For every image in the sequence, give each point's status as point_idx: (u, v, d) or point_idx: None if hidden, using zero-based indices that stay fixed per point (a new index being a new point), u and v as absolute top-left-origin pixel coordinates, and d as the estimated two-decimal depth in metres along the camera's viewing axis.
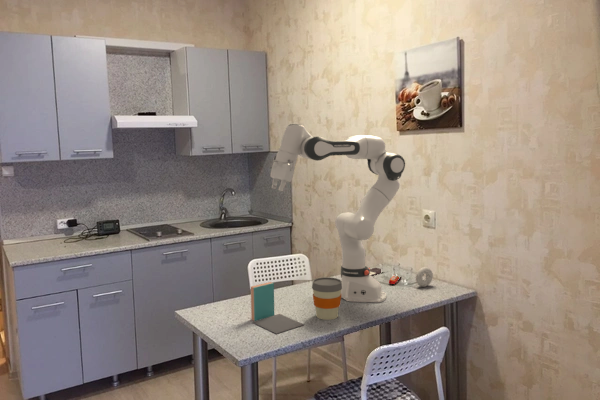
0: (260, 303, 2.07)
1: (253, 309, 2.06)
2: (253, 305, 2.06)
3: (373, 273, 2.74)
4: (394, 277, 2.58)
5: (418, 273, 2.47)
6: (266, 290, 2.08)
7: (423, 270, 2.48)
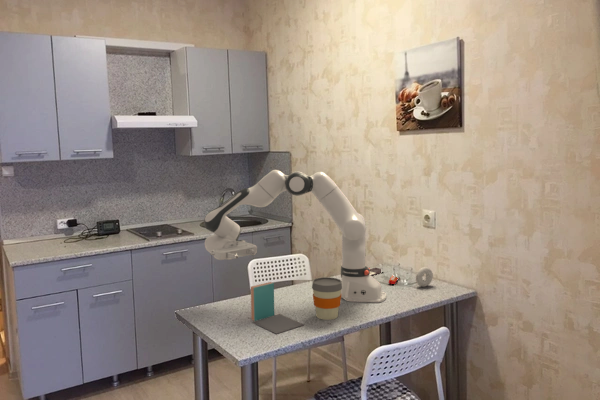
0: (260, 303, 2.07)
1: (253, 309, 2.06)
2: (253, 305, 2.06)
3: (373, 273, 2.74)
4: (393, 277, 2.58)
5: (418, 273, 2.47)
6: (266, 290, 2.08)
7: (423, 270, 2.48)
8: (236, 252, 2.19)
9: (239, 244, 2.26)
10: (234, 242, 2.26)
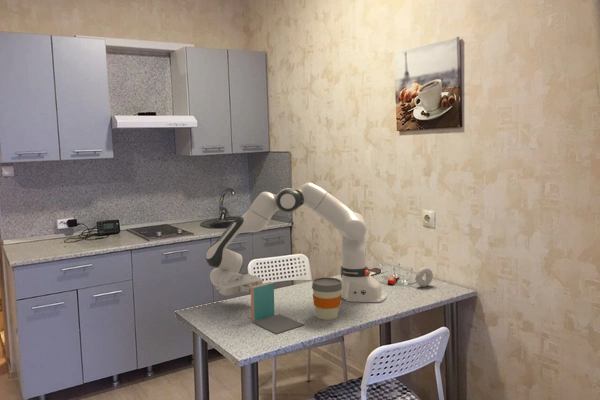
0: (260, 303, 2.07)
1: (253, 309, 2.06)
2: (253, 305, 2.06)
3: (373, 273, 2.74)
4: (392, 277, 2.58)
5: (418, 273, 2.47)
6: (266, 290, 2.08)
7: (423, 270, 2.48)
8: None
9: (244, 277, 2.26)
10: (239, 276, 2.26)
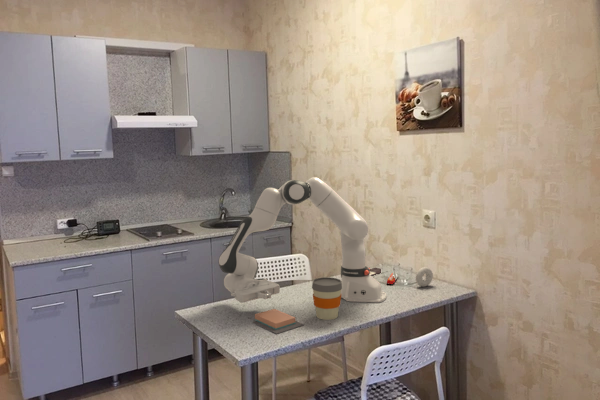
0: None
1: (261, 321, 2.02)
2: (264, 322, 2.01)
3: (373, 273, 2.74)
4: (391, 277, 2.58)
5: (418, 273, 2.47)
6: None
7: (423, 270, 2.48)
8: None
9: (261, 283, 2.16)
10: (255, 281, 2.16)
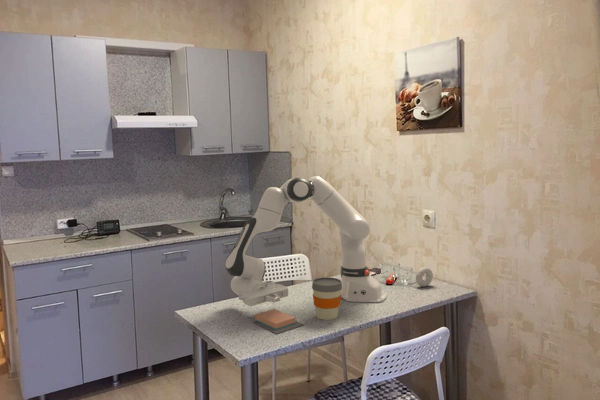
0: None
1: (261, 321, 2.02)
2: (264, 322, 2.01)
3: (373, 273, 2.74)
4: (391, 277, 2.58)
5: (418, 273, 2.47)
6: None
7: (423, 270, 2.48)
8: None
9: (269, 286, 2.12)
10: (263, 284, 2.12)
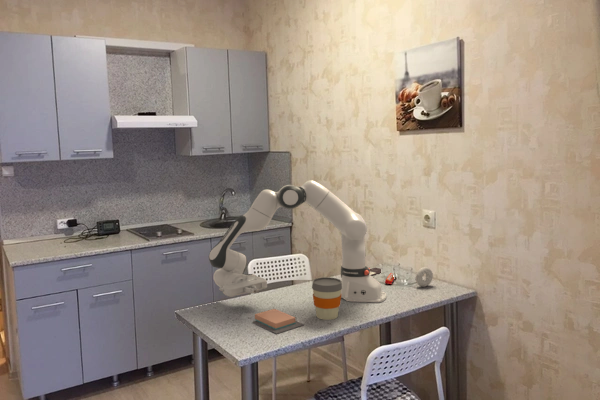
0: None
1: (261, 321, 2.02)
2: (264, 322, 2.01)
3: (373, 273, 2.74)
4: (390, 277, 2.59)
5: (418, 273, 2.47)
6: None
7: (423, 270, 2.48)
8: None
9: (249, 278, 2.23)
10: (243, 276, 2.23)
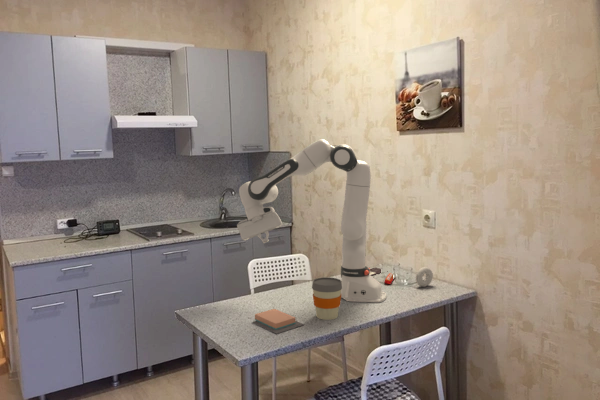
0: None
1: (261, 321, 2.02)
2: (264, 322, 2.01)
3: (373, 273, 2.74)
4: (389, 277, 2.59)
5: (418, 273, 2.47)
6: None
7: (423, 270, 2.48)
8: None
9: (265, 217, 2.33)
10: (260, 215, 2.32)
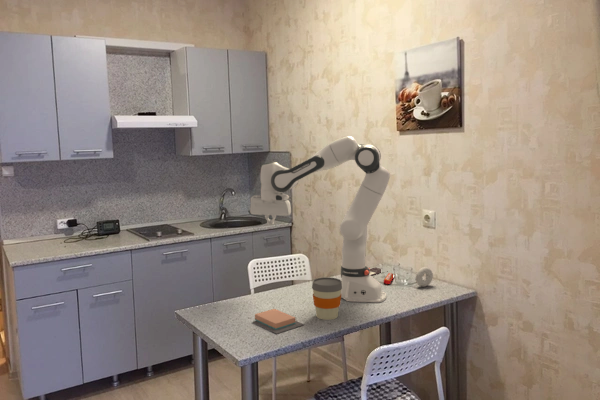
0: None
1: (261, 321, 2.02)
2: (264, 322, 2.01)
3: (373, 273, 2.74)
4: (388, 277, 2.59)
5: (418, 273, 2.47)
6: None
7: (423, 270, 2.48)
8: None
9: (276, 203, 2.37)
10: (272, 200, 2.37)
